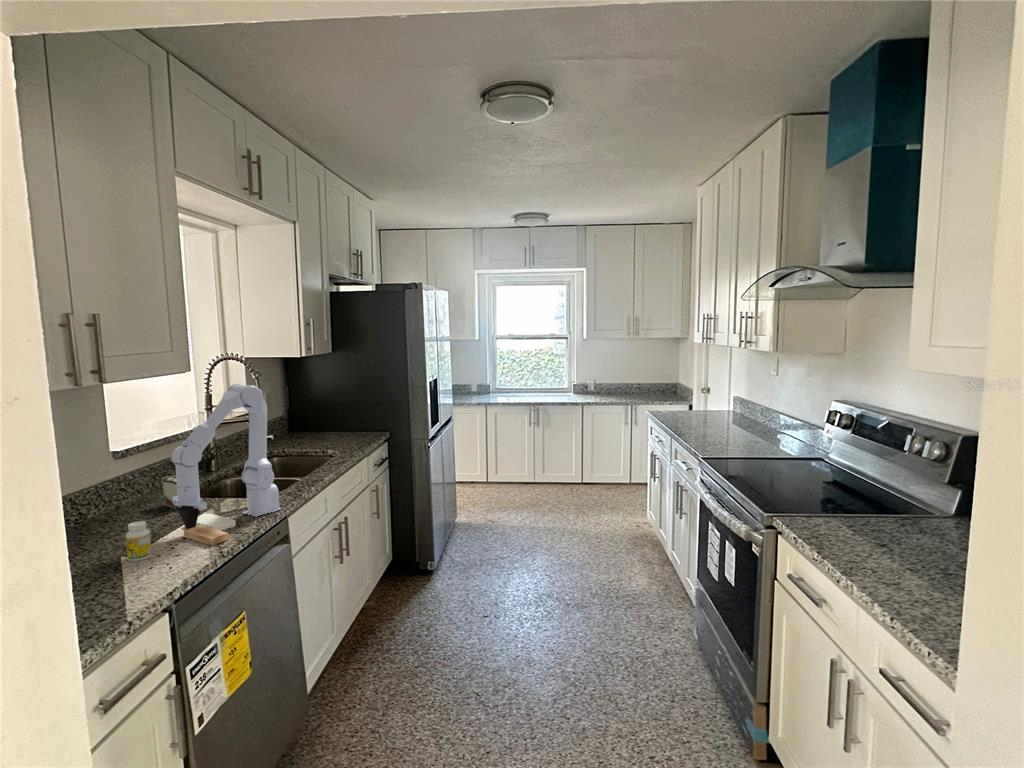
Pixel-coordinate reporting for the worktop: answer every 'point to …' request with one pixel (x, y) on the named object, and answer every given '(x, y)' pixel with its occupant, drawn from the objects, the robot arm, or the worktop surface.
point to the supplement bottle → (138, 541)
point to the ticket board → (215, 522)
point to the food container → (170, 490)
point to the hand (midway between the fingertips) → (190, 529)
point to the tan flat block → (206, 535)
